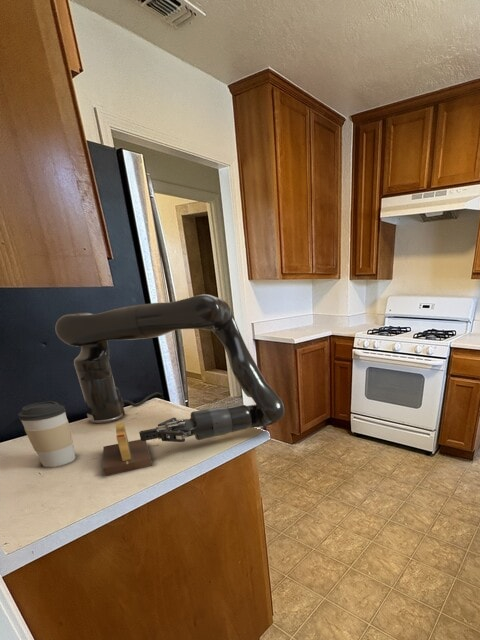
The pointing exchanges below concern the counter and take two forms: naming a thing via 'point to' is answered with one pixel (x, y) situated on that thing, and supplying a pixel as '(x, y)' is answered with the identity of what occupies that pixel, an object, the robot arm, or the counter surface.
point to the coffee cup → (48, 432)
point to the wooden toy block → (123, 441)
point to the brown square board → (117, 465)
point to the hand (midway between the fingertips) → (140, 436)
